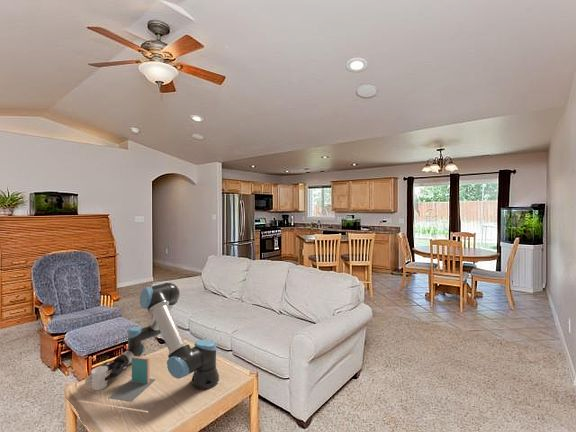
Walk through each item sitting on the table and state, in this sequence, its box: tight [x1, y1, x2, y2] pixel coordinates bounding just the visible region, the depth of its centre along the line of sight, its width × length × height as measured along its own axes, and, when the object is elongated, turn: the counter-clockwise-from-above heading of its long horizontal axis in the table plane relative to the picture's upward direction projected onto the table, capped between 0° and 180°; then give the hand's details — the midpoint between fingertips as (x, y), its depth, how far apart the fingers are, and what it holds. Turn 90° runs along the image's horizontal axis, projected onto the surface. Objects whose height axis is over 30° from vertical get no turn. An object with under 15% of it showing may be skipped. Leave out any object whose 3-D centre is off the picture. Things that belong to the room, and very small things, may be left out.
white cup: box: [90, 365, 109, 391], centre depth 166 cm, size 8×8×10 cm
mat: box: [107, 378, 157, 403], centre depth 165 cm, size 14×20×1 cm
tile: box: [131, 356, 150, 384], centre depth 170 cm, size 10×2×14 cm, turn 79°
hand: (92, 381), depth 161 cm, fingers closed on white cup, 8 cm apart
